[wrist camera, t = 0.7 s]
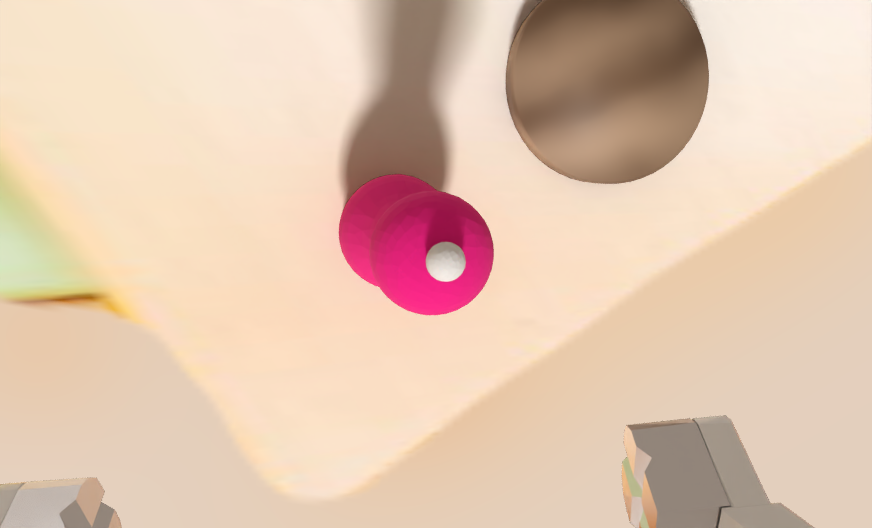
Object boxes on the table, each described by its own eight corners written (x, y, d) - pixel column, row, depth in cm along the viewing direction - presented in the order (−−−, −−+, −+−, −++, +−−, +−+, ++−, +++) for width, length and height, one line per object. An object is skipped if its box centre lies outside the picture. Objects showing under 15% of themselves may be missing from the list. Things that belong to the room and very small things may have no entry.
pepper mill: (324, 268, 53) (350, 330, 34) (346, 162, 52) (386, 163, 33) (427, 288, 55) (509, 358, 35) (450, 185, 54) (546, 199, 34)
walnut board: (471, 32, 53) (479, 27, 51) (648, -56, 54) (661, -64, 53) (557, 217, 56) (567, 219, 54) (722, 128, 57) (737, 127, 55)
